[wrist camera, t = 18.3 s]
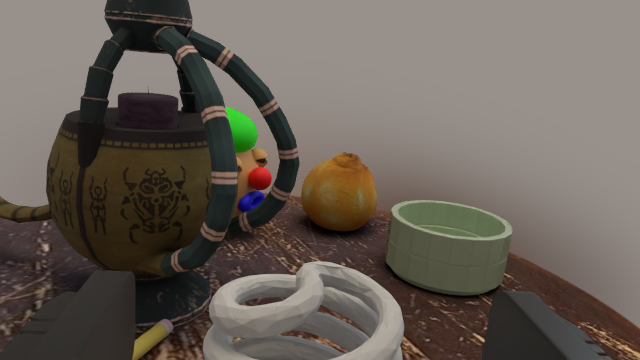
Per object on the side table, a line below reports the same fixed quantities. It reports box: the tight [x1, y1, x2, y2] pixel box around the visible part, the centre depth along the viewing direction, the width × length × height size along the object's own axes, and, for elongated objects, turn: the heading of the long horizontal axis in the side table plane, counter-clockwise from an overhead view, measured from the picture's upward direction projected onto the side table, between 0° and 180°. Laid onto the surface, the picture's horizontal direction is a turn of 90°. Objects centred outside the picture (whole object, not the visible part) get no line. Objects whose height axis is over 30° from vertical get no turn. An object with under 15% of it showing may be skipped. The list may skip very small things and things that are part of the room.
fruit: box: [301, 152, 377, 231], centre depth 54 cm, size 8×8×8 cm
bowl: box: [385, 200, 512, 295], centre depth 45 cm, size 10×10×5 cm
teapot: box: [0, 0, 299, 332], centre depth 35 cm, size 12×25×23 cm, turn 71°
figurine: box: [180, 107, 272, 218], centre depth 50 cm, size 11×10×12 cm
